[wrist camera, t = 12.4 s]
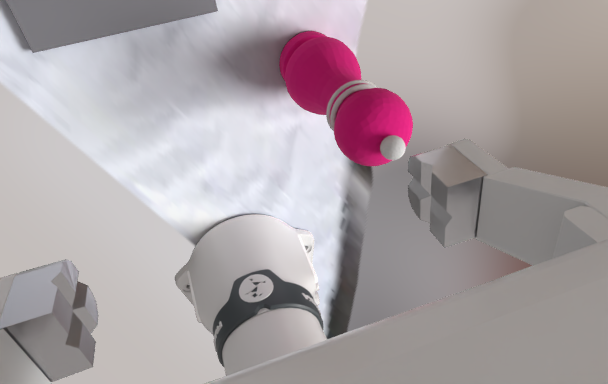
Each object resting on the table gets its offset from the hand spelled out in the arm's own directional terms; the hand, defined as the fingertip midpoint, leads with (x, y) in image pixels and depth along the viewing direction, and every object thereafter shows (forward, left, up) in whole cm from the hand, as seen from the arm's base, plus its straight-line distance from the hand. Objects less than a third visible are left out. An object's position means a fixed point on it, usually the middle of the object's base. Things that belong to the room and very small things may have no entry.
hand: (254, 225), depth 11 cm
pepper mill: (-11, -12, -35) cm, 39 cm away
